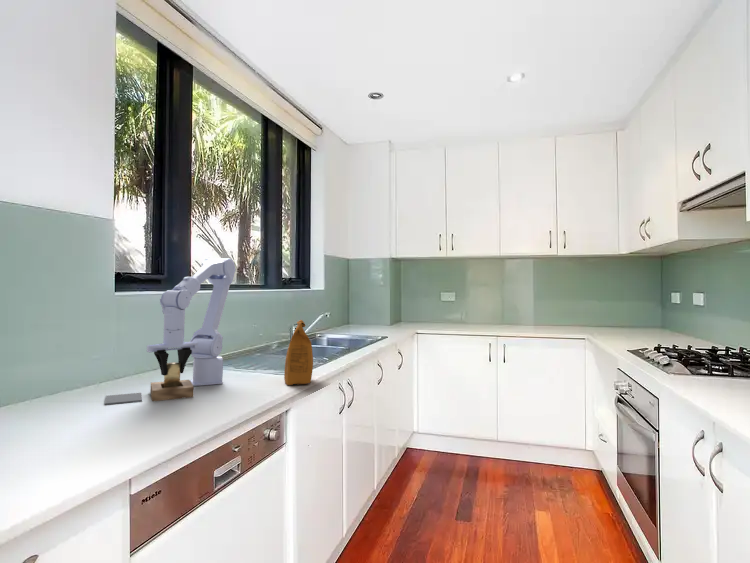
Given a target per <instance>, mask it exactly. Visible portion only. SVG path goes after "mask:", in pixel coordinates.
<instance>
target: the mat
mask: <svg viewBox="0 0 750 563" xmlns="http://www.w3.org/2000/svg"><path fill="white" fill-rule="evenodd" d="M138 402H139V403H140V402H143V396H142V392H131V393H121V394H120V393H119V394H110V395H106V396H105V400H104V406H107V405H109V406H110V405H119V404H127V403H138Z"/></svg>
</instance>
